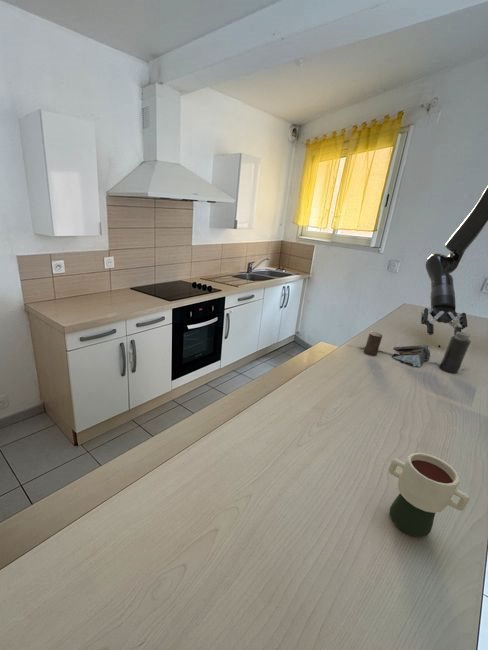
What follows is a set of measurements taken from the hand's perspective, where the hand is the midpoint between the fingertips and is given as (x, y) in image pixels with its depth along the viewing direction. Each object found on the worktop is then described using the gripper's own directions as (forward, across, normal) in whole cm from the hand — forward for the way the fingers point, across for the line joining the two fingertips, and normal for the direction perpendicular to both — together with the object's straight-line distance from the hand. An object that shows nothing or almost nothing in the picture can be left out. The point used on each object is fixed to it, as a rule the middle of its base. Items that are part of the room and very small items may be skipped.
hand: (444, 336), depth 121 cm
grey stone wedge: (+13, -13, 0) cm, 18 cm away
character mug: (+66, -33, -54) cm, 91 cm away
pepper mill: (+14, 0, -2) cm, 14 cm away
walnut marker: (+11, -24, +1) cm, 27 cm away
